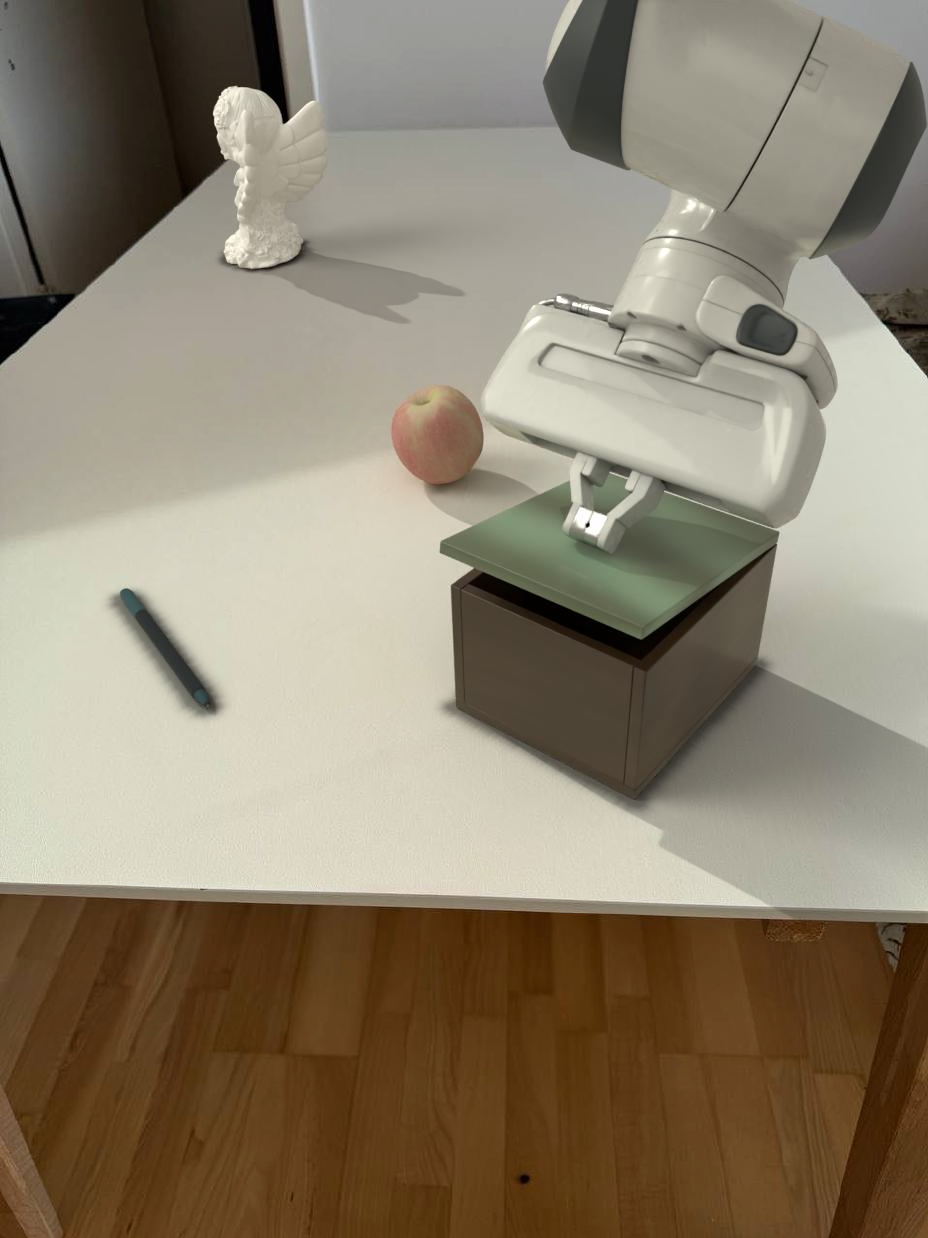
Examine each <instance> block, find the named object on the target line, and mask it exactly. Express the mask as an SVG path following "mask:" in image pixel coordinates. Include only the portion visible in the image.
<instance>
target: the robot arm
mask: <svg viewBox="0 0 928 1238" xmlns="http://www.w3.org/2000/svg"><path fill="white" fill-rule="evenodd" d="M557 21H558V22H557V24H556V26H555V29H554V32H553V33H552V37H551V40H550V43H549V46H548V51H547V57H546V60H545V72H544V76H543V79H542V87H543V89H544V93H545V96H546V99H547V102H548V105H549V107H550V110H551V112H552V115H553V117H554V120H555V123H556V124H557V126H558V128H559V131H560V132H561V134H562V136H563V138H564V140H565V142H566V144H567V145H568V147H569V149H570V150H571V151H573V152H576V153H579V154H581V155H584V156H586V157H590V158H591V159H595V160H598V161H600V162H602V163H606V164H608V165H611V166H614V167H616V168H619V169H622V170H624V171H631V170H632V171H634V172H636V173H638V174H640V175H643V176H645V177H647V178H649V179H651V180H653V181H654V182H657V183H659V184H661V185H663V186H665V187H667V188H669V189H670V191H669V192H670V193H669V200H668V204H667V207H666V210H665V212H664V214H663V216H662V217H661V219H660V221H659V222H658V223H657V225H656V226H654V228H653V229H652V230H651V232H650V233H648V235H647V236H646V238H645V239H644V241H643V243H642V245H641V247H640V249H639V251H638V254H637V255H636V257H635V260H634V262H633V263H632V266H631V268H630V270H629V272H628V274H627V277H626V278H625V280H624V283H623V285H622V288H621V290H620V291H619V293H618V296H617V298H616V300H615V301H614V304H609V303H605V302H601V301H595V300H587V299H583V298H579V296H577V295H573V294H570V293H558V294H556V296H554V297H550V298H547V299H543V300H542V301H540V302H538V303H535V304H533V305H532V306H531V307H530V309H529V310H528V312H527V313H526V315H525V317H524V319H523V321H522V324H521V326H520V328H519V331H518V332H517V334H516V335H515V337H514V339H513V340H512V341H511V343H510V344H509V346H508V347H507V349H506V350H505V352H504V353H503V355H502V357H501V358H500V359H499V362H498V363H497V365H496V366H495V369H494V370H493V372H492V373H491V375H490V376H489V379H488V381H487V382H486V384H485V386H484V388H483V390H482V392H481V394H480V400H479V401H480V402H479V403H480V407H481V408H480V409H481V414H482V417H483V418H484V419H485V420H486V422H488V423H489V424H490V425H491V426H492V427H494V429H496V430H497V431H498V432H500V433H501V434H503V435H504V436H507V437H509V438H512V439H515V440H518V441H521V442H524V443H527V444H529V445H532V446H535V447H538V448H542V449H543V450H547V451H550V452H553V453H556V454H558V455H561V456H564V457H567V458H570V459H572V463H571V465H570V467H569V469H568V471H569V472H568V473H569V480H570V487H571V501H572V503H573V505H572V507H571V509H570V511H569V513H568V516H567V518H566V520H565V522H564V524H563V528H562V532H563V533H564V534H565V535H566V536H568V537H569V538H571V539H574V540H576V541H579V542H581V543H584V544H587V545H589V546H592V547H594V548H597V549H599V550H601V551H604V552H606V553H609V554H613V553H614V552H615V551H616V549H617V547H618V545H619V543H620V541H621V538H622V536H623V534H624V532H625V530H626V528H628V529H629V528H630V527H631V526H633V525H634V524H635V523H637V522H638V521H639V520H641V519H642V518H643V517H645V516H646V515H648V514H649V513H650V512H652V511H653V510H654V509H656V508H657V506H658V503H659V501H660V499H661V497H662V495H663V493H664V492H666V493H669V494H672V495H675V496H678V497H680V498H683V499H686V500H689V501H692V502H695V503H698V504H701V505H704V506H706V507H709V508H712V509H715V510H718V511H721V512H724V513H727V514H730V515H733V516H735V517H738V518H741V519H744V520H747V521H750V522H753V523H756V524H759V525H761V526H764V527H767V528H770V529H774V530H777V529H779V528H781V527H783V526H785V525H787V524H789V523H790V522H792V521H794V520H795V519H796V518H798V516H799V515H800V513H801V511H802V509H803V507H804V505H805V503H806V501H807V498H808V496H809V493H810V490H811V488H812V486H813V483H814V480H815V477H816V474H817V472H818V469H819V466H820V463H821V459H822V456H823V452H824V449H825V444H826V439H827V426H826V421H825V419H824V416H823V414H822V411H821V410H823V409H825V408H827V407H828V406H829V405H830V403H831V402H832V401H833V399H834V397H835V395H836V393H837V390H838V388H839V387H838V385H839V384H838V383H839V382H838V376H837V371H836V367H835V364H834V361H833V359H832V357H831V354H830V352H829V350H828V349H827V347H826V345H825V343H824V342H823V340H822V339H821V337H820V335H819V334H818V332H816V330H815V329H814V328H812V327H811V326H810V325H809V324H807V323H805V322H804V321H802V320H800V319H799V318H797V317H796V316H794V315H793V314H791V313H789V312H788V311H786V310H784V306H785V303H786V300H787V295H788V289H789V285H790V284H789V283H790V279H791V276H792V273H793V271H794V269H795V267H796V265H797V263H798V262H799V260H800V259H801V258H808V260H814V259H818V258H822V257H824V256H826V255H830V254H832V253H834V252H837V251H840V250H842V249H845V248H847V247H849V246H852V245H855V244H857V243H859V242H862V241H864V240H867V238H869V237H870V236H871V235H872V234H873V233H874V232H875V231H876V229H878V227H879V225H881V222H883V219H884V217H885V216H886V214H887V212H888V210H889V208H890V207H891V204H892V202H893V200H894V198H895V196H896V194H897V191H898V189H899V187H900V185H901V182H902V180H903V178H904V176H905V173H906V171H907V168H908V167H909V165H910V162H911V160H912V158H913V155H914V154H915V152H916V150H917V148H918V146H919V143H920V141H921V139H922V137H923V135H924V133H925V131H926V129H927V127H928V123H927V112H926V103H925V96H924V92H923V87H922V83H921V79H920V76H919V74H918V71H917V68H916V66H915V64H914V63H913V61H909V60H908V59H907V58H906V57H904V56H903V55H902V54H900V53H899V52H898V51H896V50H895V49H893V48H891V47H890V46H888V45H886V44H885V43H882V42H880V41H878V40H877V39H874V38H872V37H870V36H868V35H866V34H864V33H862V32H860V31H859V30H856V29H854V28H852V27H849V26H848V25H846V24H844V23H841V22H839V21H838V20H836V19H834V18H832V17H829V16H827V15H825V14H824V15H823V16H822V15H820V14H818V13H817V12H814V11H812V10H810V9H808V8H807V7H804V6H802V5H800V4H798V3H795V2H794V1H791V0H568V1H567V3H566V5H565V6H564V8H563V11H562V12H561V16H560V18H559V19H558V20H557ZM609 473H612V474H615V475H617V476H620V477H623V478H626V479H628V481H627V483H626V485H625V489H626V490H627V491H628V492H629V493H630V495H629V496H628V497H627V498H626V499H624V500H623V501H622V502H621V503H620V504H618V505H617V506H616V507H615V508H614V509H613V510H611V511H610V512H609V513H608V514H607V515H604V514H601V513H598V512H595V511H594V494H593V485H595V486H598V487H603V485H604V483H605V481H606V479H607V477H608V475H609Z"/></svg>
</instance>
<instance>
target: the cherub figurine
mask: <svg viewBox="0 0 928 1238" xmlns="http://www.w3.org/2000/svg"><path fill="white" fill-rule="evenodd" d="M220 94H221V95H219V96H218V100H217V101H216V103H215V105H214V107H213V112H212V115H213V122H214V123H213V124H214V127H215V128H216V131H217V134H216V140H217V143H218V146H219V147H220V153H221V155H223V158H224V160H230V161H233V162H235V163H237V164H238V165H239V168H238V169H237V170H236V173H235V175H234V178H233V185H234V186H236V187H238V189H237V191H236V195H235V198H234V205H235V206H236V207H237V213H236V220H237V221H238V222H239V225H238V226H239V227H238V229H237V231H235V232H234V233H233V234H231V235H230V236H229V237H228V238H227V239H226V240H225V242H224V249H223V254H224V257H225V260H226V262H227V263H228V264H230V265H238V267H239V268H241V269H251V270H256V269H264V268H270V267H274V266H277V265H279V264H282V263H286V262H289V261H291V260H293V259H294V257H297V256H298V255H299V253H300V251H301V248H302V245H303V244H304V239H303V238H302V235H301V234H299V233H300V228H299V226H298V224H296V223H294V222H292V221H290V220H289V218H287V216H286V213H285V212H286V210H287V203H297V202H300V201H301V200H303V198H304V197H305V196H307V195H309V194H310V193H311V192H312V191H313V190H314V188H315V186H316V185H318V184H319V183H320V182H321V180H322V179H323V177H324V174H323V173H324V172H325V170H326V168H327V166H328V162H329V160H328V155H327V151H328V149H329V144H330V143H329V136H328V132H327V131H326V129H325V128H324V125H325V120H326V115H325V111H324V108H323V106H322V105H321V104H320V102H319V101H318V100H312V101H308V103H306V104H304V106H303V107H302V108H300V110H299V111H297V112H296V113H295V114H294V116H292V117H291V118H290V119H289V120H288V121H286V122H285V123H283V117H282V113H281V110H280V108H279V106H278V104H277V103H276V102H275V101H274V100H273V99H272V98H271V97H270V96H269V95H268V94H267V93H266V92H264V91H262V90H259V89H255V88H251V87H247V86H246V87H243V86H240V87H238V85H235V86H234V85H233V86H228V87H227V88H224V89H223V90H222V91H221V93H220Z"/></svg>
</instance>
